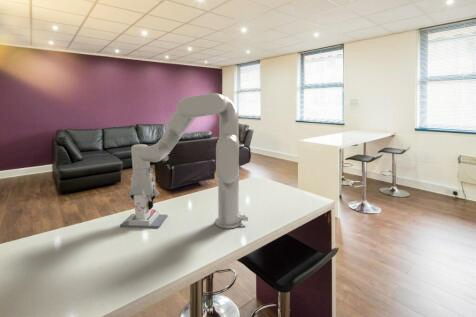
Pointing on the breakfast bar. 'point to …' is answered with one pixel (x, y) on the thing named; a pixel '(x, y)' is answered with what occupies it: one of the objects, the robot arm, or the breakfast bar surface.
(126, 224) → the board
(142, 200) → the ink cartridge box
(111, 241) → the breakfast bar surface
